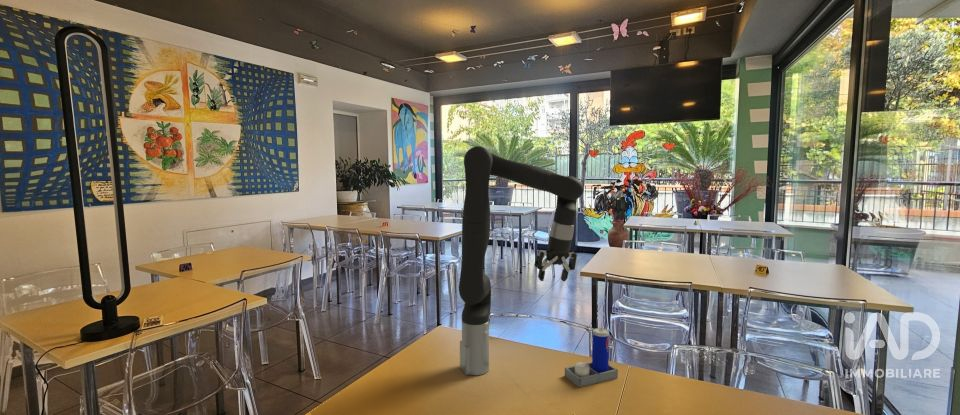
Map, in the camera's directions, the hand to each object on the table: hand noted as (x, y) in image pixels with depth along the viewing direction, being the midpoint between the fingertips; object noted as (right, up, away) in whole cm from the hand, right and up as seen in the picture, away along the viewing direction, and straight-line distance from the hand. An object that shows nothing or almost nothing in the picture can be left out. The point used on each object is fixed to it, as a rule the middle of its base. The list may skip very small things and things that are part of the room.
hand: (552, 280), depth 143 cm
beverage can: (+15, -30, -6) cm, 34 cm away
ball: (+8, -30, -9) cm, 33 cm away
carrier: (+11, -31, -8) cm, 34 cm away
